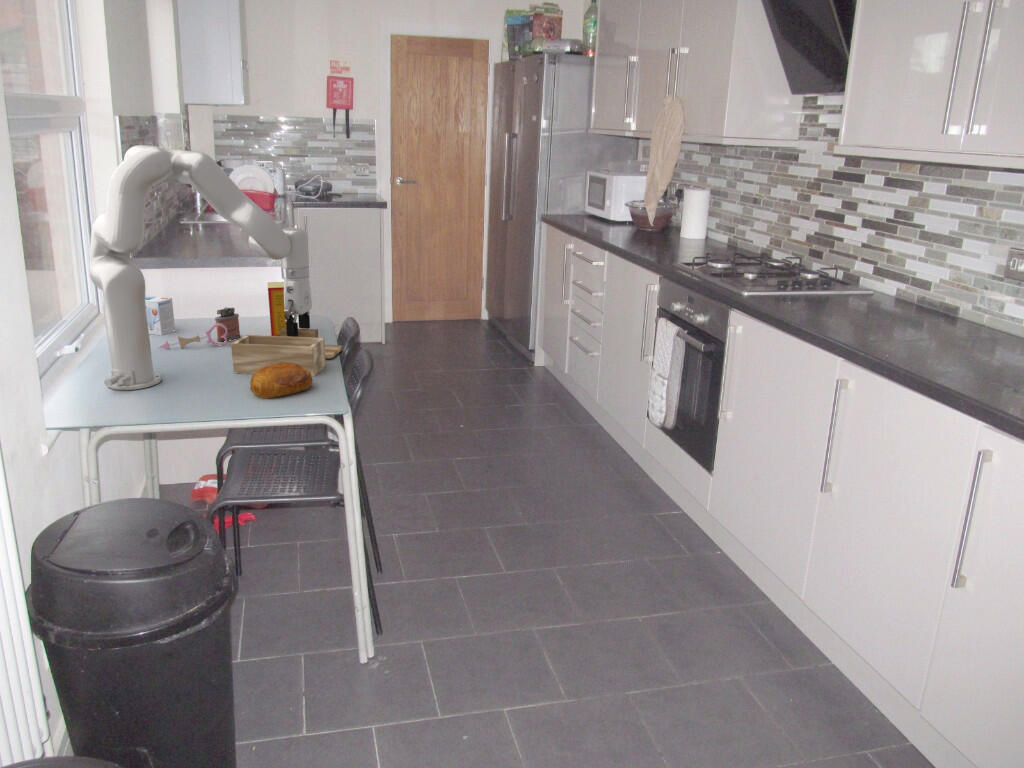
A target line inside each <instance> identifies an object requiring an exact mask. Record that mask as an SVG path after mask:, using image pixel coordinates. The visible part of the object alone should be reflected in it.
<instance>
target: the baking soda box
mask: <svg viewBox="0 0 1024 768" xmlns="http://www.w3.org/2000/svg"><path fill="white" fill-rule="evenodd" d="M267 293H268V294H267V295H268V307H269V308H268V309H269V317H270V318H269V321H270V322H269V323H270V336H281V333H280V331H281V330H282V329H284V328H286V322H285V320H286V319H285V313H284V281H278V282H277V281H275V282H274V281H273V282H272V281H270V282H267Z"/></svg>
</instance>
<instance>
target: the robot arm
mask: <svg viewBox="0 0 1024 768" xmlns="http://www.w3.org/2000/svg"><path fill="white" fill-rule="evenodd" d="M159 182H160V183H161V182H162V183H172V184H185V185H186V184H187V185H190V186H191V187H192V188H193V189H194V190H195V191H196V192H197V193H198V194H199V195H200V196H201V197H202V198H203V200H204V201H206V203H208V204H209V205H210V207H211V208H212V209H213V210H214V211H215V212H216V213H217V214H218V215H219V216H220V217H222V218H223V219H224V220H225V221H227V222H229V223H231V224H233V225H234V226H236V227H238V228H239V229H241V230H242V231H244V232H245V233H246V234H247V235H248V236H249V237H248V241H247V243H248V246H249V247H248V248H250V250H251V251H252V252H253V253H254V254H256V255H258V256H260V257H264V258H268V259H271V260H276V261H280V268H281V279H282V280H283V282H284V313H285V319H286V320H285V322H286V331H287V336H292V337H297V336H298V329H311V323H310V322H311V319H310V313H311V312H310V310H311V309H312V308H313V305H312V304H313V303H312V302H313V301H312V295H311V294H312V291H311V285H310V268H309V266H310V264H309V245H308V244H309V242H308V234H307V230H306V229H304V228H299V227H286V228H281V227H280V226H279V224H278V223H277V222H276V221H275V220H274V219H273V218H272V217H271V215H269V214H268V213H267V212H266V211H265V210H263V209H262V208H261V207H260V206H259V205H258V204H256V202H255V201H253V200H252V199H251V198H250V197H249V196H247V195H246V194H245V193H244V192H243V191H242V190H241V188H239V187H238V185H237V184H236V183H235V182H234V180H232V178H230V176H229V175H228V174H227V172H225V171H224V170H223V169H222V167H221V166H220V165H219V164H218V163H217V162H216V160H215V159H213V158H212V157H211V156H210V155H209V154H207V153H205V152H203V151H196V150H183V149H172V148H164V147H159V146H156V145H146V144H145V145H144V144H139V145H133V146H132V147H130V148H128V149H127V151H126V152H125V153H124V157H123V160H122V162H120V163H119V164H118V165H117V167H116V168H115V170H114V171H113V173H112V174H111V177H110V180H109V182H108V189H107V195H106V202H105V203H106V204H105V212H103V213H101V214H100V215H99V216H98V217H96V218H95V221H93V225H92V227H91V234H90V245H89V247H90V248H89V266H88V267H89V277H90V279H91V281H92V283H93V284H94V285H95V287H97V289H99V290H101V291H102V294H103V295H102V296H103V315H104V318H103V319H104V324H105V328H106V329H105V330H106V336H107V345H108V352H109V358H110V359H109V360H110V364H111V371H110V373H111V376H110V377H108V378H106V379H104V381H103V382H104V383H103V384H104V386H105V387H108V388H110V389H113V390H117V391H129V390H132V391H133V390H140V389H141V390H142V389H146V388H149V387H153V386H156V385H157V384H159V383H161V381H162V375H161V374H159V373H157V372H155V371H154V365H153V364H154V362H153V354H152V348H151V339H150V334H149V330H148V322H147V315H146V304H145V296H146V280H145V276H144V273H143V272H142V270H141V269H140V267H139V266H137V265H136V264H135V263H134V262H132V261H131V255H132V254H133V253H135V252H137V251H138V250H139V249H140V248H141V246H142V244H143V243H144V242H143V241H144V234H145V233H144V229H145V227H144V226H145V215H146V203H147V197H148V194H149V192H150V190H151V188H152V187H154V186H155V184H157V183H159ZM297 320H298V322H297Z"/></svg>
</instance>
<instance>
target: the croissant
mask: <svg viewBox="0 0 1024 768" xmlns="http://www.w3.org/2000/svg"><path fill="white" fill-rule="evenodd" d="M313 381H314V380H313V377H311V373H310V372H309V371H308V370H307V369H304V368H303V367H301V366H300V365H298V364H295V363H289V362H280V363H275V364H272V365H269V366H265V367H263V368H260V369H258V370H257V371H256V372H255V373H254V374H252V375H251V378H250V382H249V384H250V388H249V389H250V390H251V392H252V391H253V392H252V393H254V395H256V396H257V397H260V398H262V399H275V398H279V397H285V396H289V395H290V396H291V395H293V394H296V393H300V392H302V391H303V392H304V391H305V390H308V389H309V388H311V386H312V384H313Z"/></svg>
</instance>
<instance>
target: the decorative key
mask: <svg viewBox="0 0 1024 768" xmlns="http://www.w3.org/2000/svg"><path fill="white" fill-rule="evenodd" d="M217 326H221V327H223V328H224V329H225V331H226V333H225V334H224V335H223V336H221V338H224V339H225V342H224V343H218V342H215V341H214V340H213V339H212V337H211V333H212V331H213V330H214V329H216V328H217ZM203 332H204V334H205V335H203V336H199V334H197V335H195V336H193V337H183V336H179V335H177V339H178V341H176V342H175V341H174V342H171V343H169V342H168V340H166V341H165V342H164V343H163V344H162V345H160V346H158V347H157V348H158V349H166V350H170V348H171V347H172V346H176V345H179V346H180V348H182V349H184V348H185V347H186V346H187V345H189V344H191V343H195V342H197V343H200V342H201V340H205V339H207V341H206V343H207V344H212V345H214V346H216V345H224V346H226V344H227V343H228V342H227V338H226V337H225V336H226V335H227V328H226V327H225V325H223V324H216V323H215V324H213V325H212V326H211V327H210V328H209V329H207V330H205V331H203Z"/></svg>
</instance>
